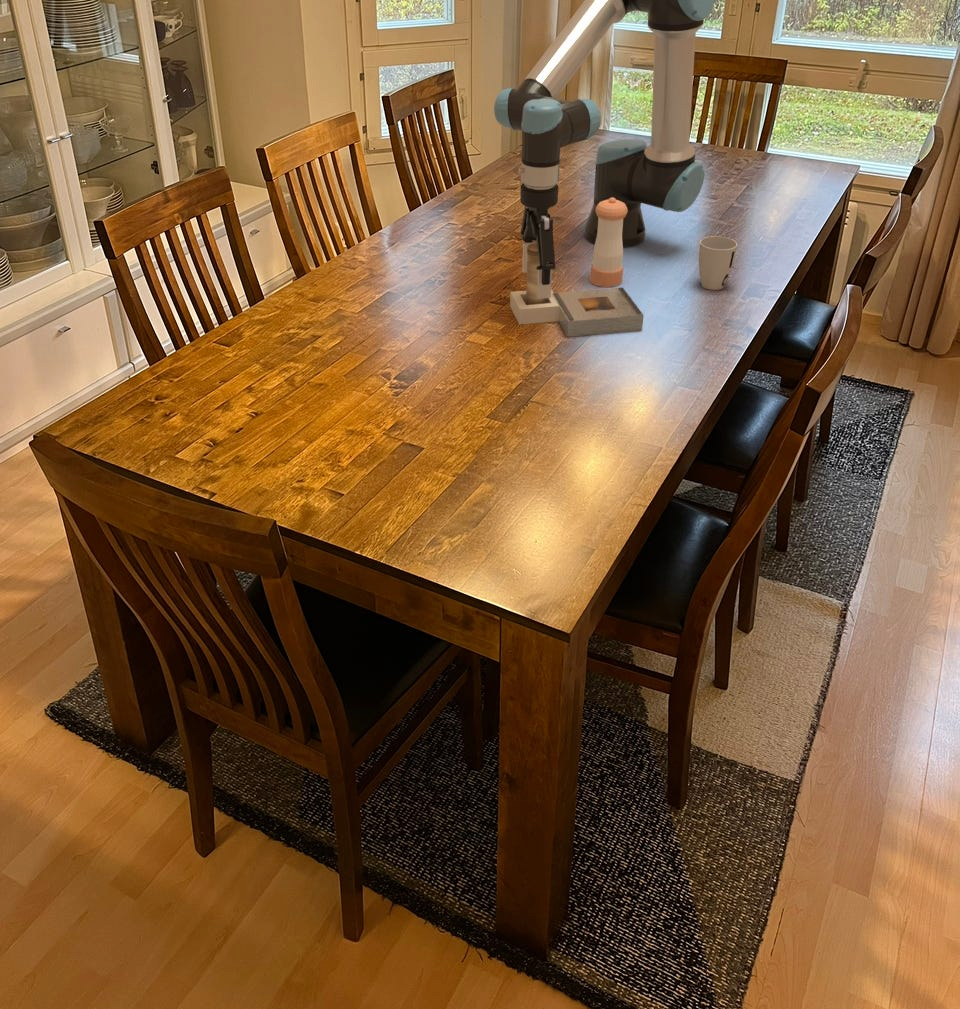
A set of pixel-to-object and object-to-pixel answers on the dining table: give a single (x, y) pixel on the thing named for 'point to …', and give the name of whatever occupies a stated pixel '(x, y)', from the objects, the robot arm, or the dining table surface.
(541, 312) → the holder
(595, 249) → the salt shaker
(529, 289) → the brown wooden cylinder
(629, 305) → the grey square frame
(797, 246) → the dining table surface
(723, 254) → the cup
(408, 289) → the dining table surface
